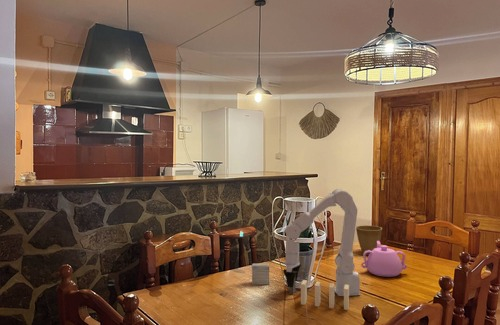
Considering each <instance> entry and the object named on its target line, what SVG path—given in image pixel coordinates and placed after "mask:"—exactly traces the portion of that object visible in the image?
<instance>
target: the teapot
mask: <svg viewBox="0 0 500 325" xmlns="http://www.w3.org/2000/svg"><path fill="white" fill-rule="evenodd" d="M388 247H389V246H387V245H385V244H384V245H383V244H381V240H380V241H377V248H375V249H373V250H372V251H370V250H367V251H365V252H364V253H362V257H363V261H364V262H362V263H361V267H362V268H363V269H367V271H369V273H370V274H372V275H375V276H378V277H389V278H390V277H391V278H392V277H397V276H399V275H400V274H401V273H402V272H403V270H407V269H408V266H407V264H406V263H405V260H406V254H405V253H404V252H403V251H401V250H396V251H395V250H394V249H392V248H388ZM366 253H370V255H369V256H368V255H366ZM398 254H401V255H402V259H400V257H399V255H398ZM366 256H367V258H366Z"/></svg>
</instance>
